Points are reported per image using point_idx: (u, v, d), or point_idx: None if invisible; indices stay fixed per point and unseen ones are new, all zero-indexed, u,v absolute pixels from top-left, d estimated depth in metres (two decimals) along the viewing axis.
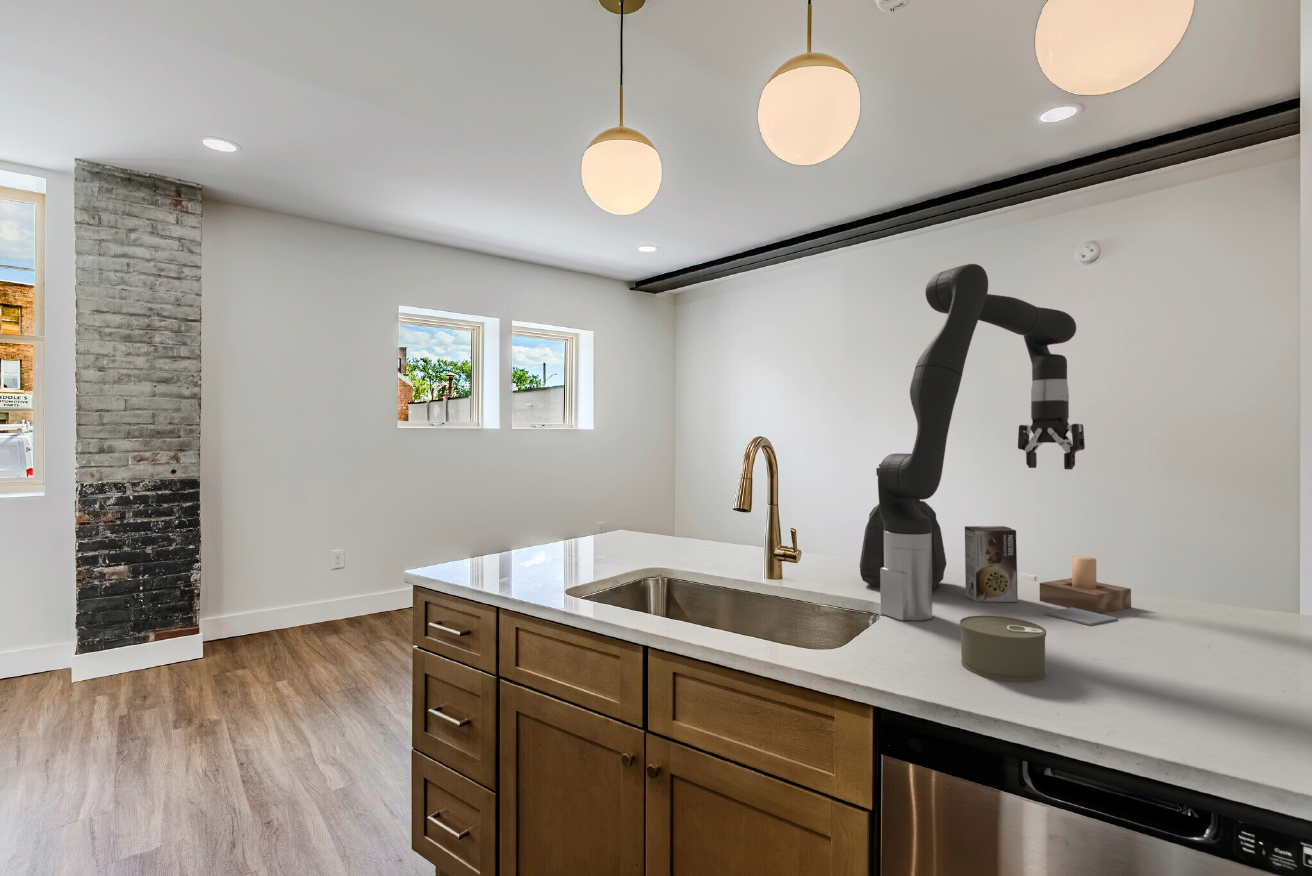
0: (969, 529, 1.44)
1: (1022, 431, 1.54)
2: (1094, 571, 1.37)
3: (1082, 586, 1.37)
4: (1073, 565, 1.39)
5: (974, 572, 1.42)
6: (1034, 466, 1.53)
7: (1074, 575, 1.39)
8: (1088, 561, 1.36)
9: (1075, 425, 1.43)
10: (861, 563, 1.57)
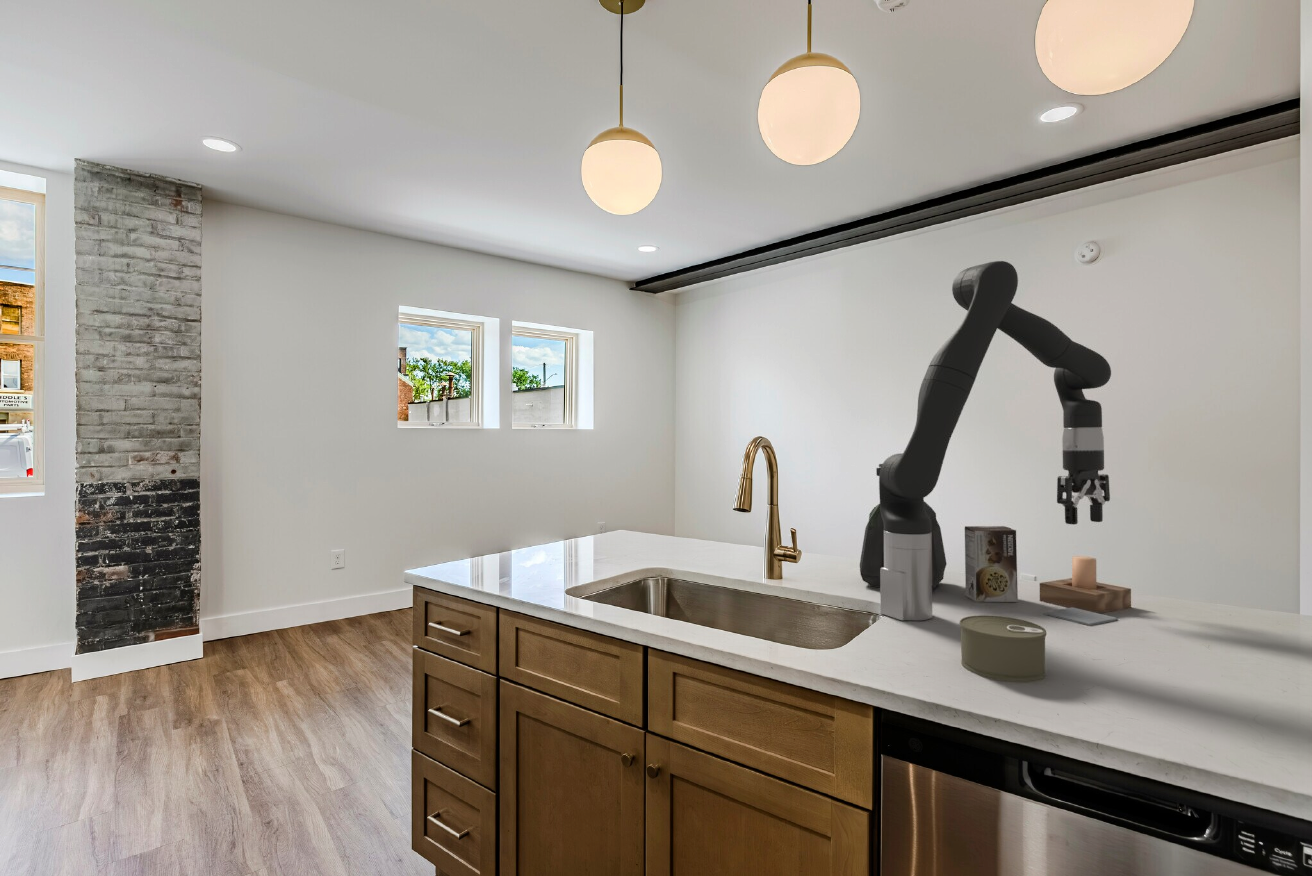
0: (969, 529, 1.44)
1: (1071, 483, 1.35)
2: (1094, 571, 1.37)
3: (1082, 586, 1.37)
4: (1073, 565, 1.39)
5: (974, 572, 1.42)
6: None
7: (1074, 575, 1.39)
8: (1088, 561, 1.36)
9: (1107, 476, 1.40)
10: (861, 563, 1.57)
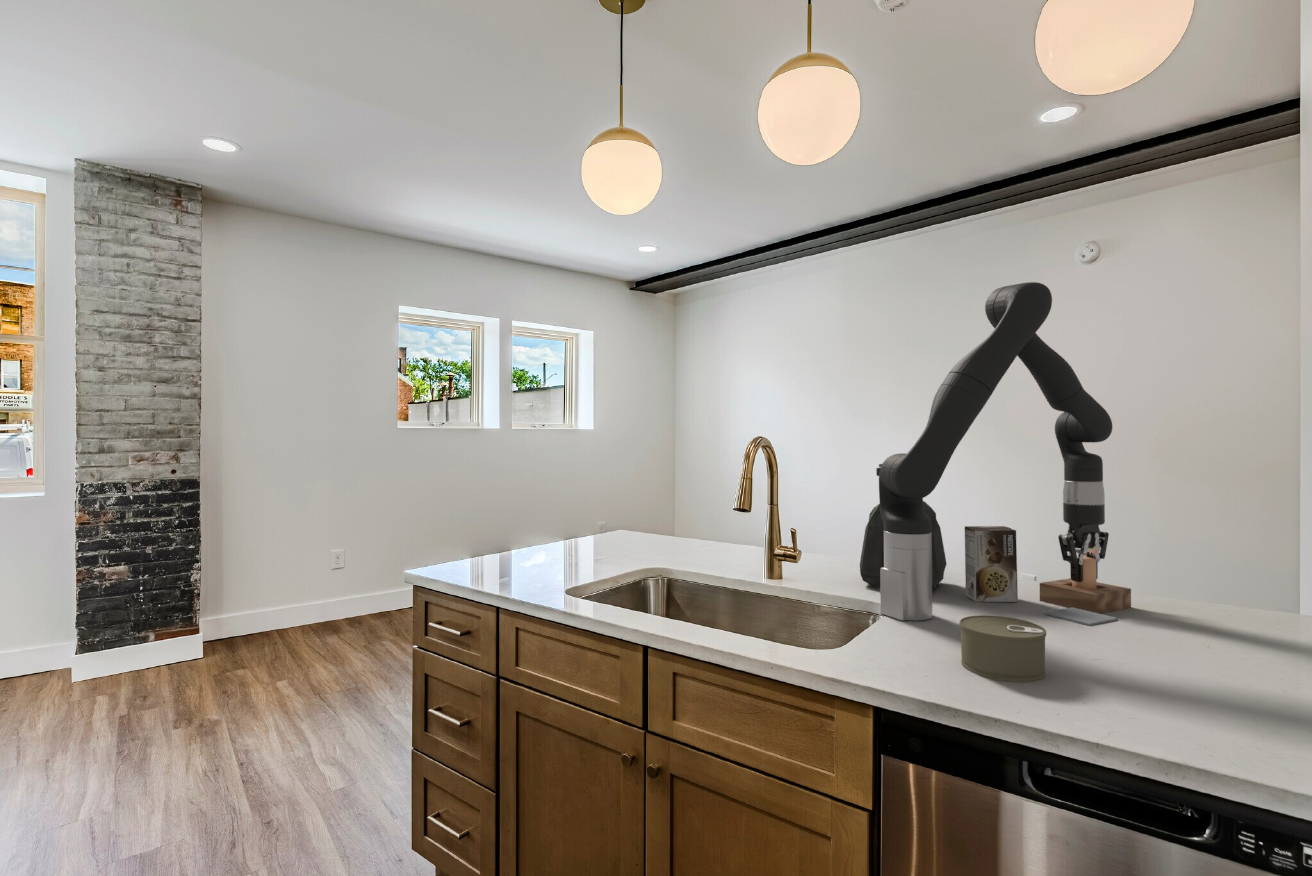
0: (969, 529, 1.44)
1: (1073, 542, 1.35)
2: (1094, 571, 1.37)
3: (1082, 586, 1.37)
4: None
5: (974, 572, 1.42)
6: None
7: None
8: (1088, 561, 1.36)
9: (1108, 534, 1.40)
10: (861, 563, 1.57)
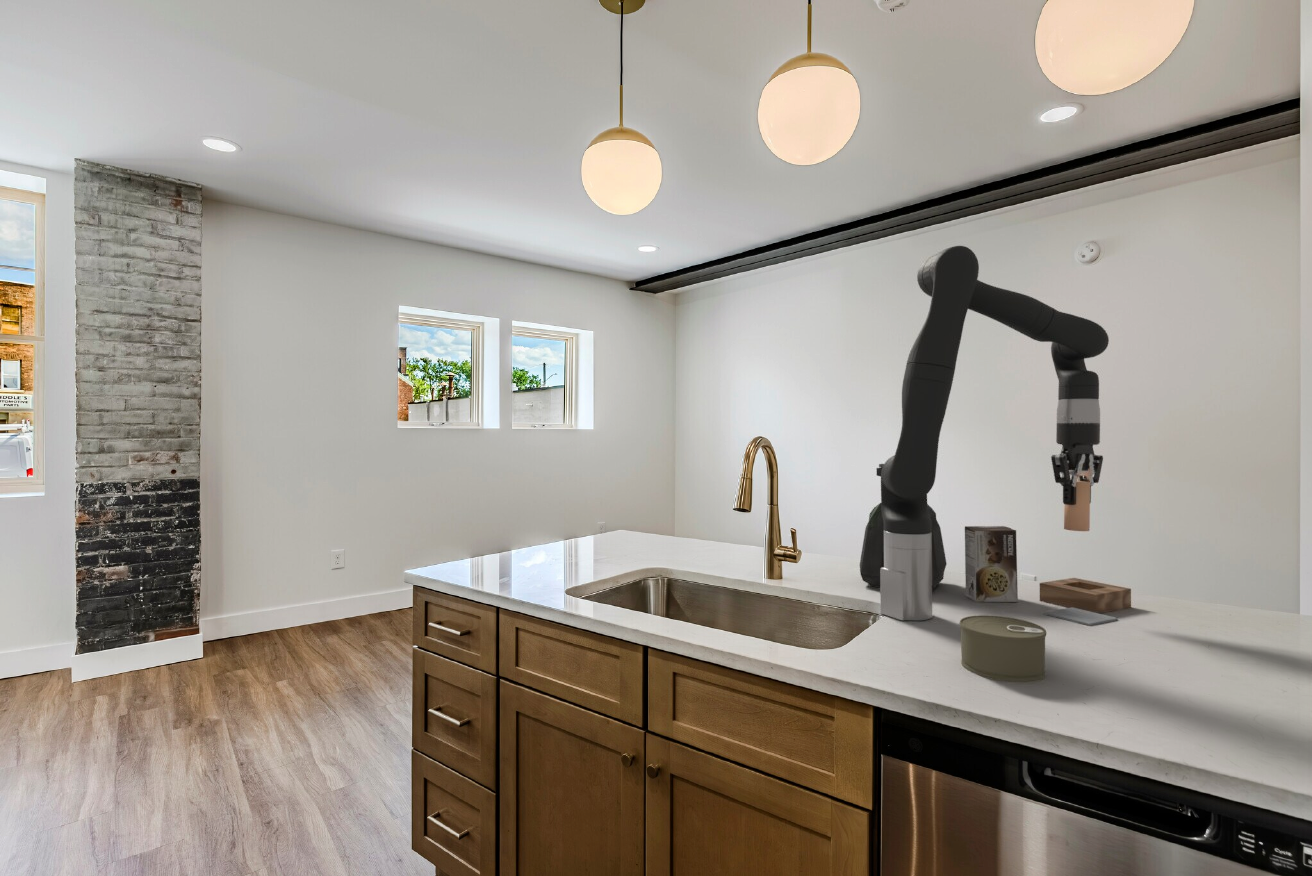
0: (969, 529, 1.44)
1: (1066, 462, 1.28)
2: (1088, 494, 1.30)
3: (1075, 510, 1.30)
4: None
5: (974, 572, 1.42)
6: None
7: None
8: (1082, 483, 1.29)
9: None
10: (861, 563, 1.57)
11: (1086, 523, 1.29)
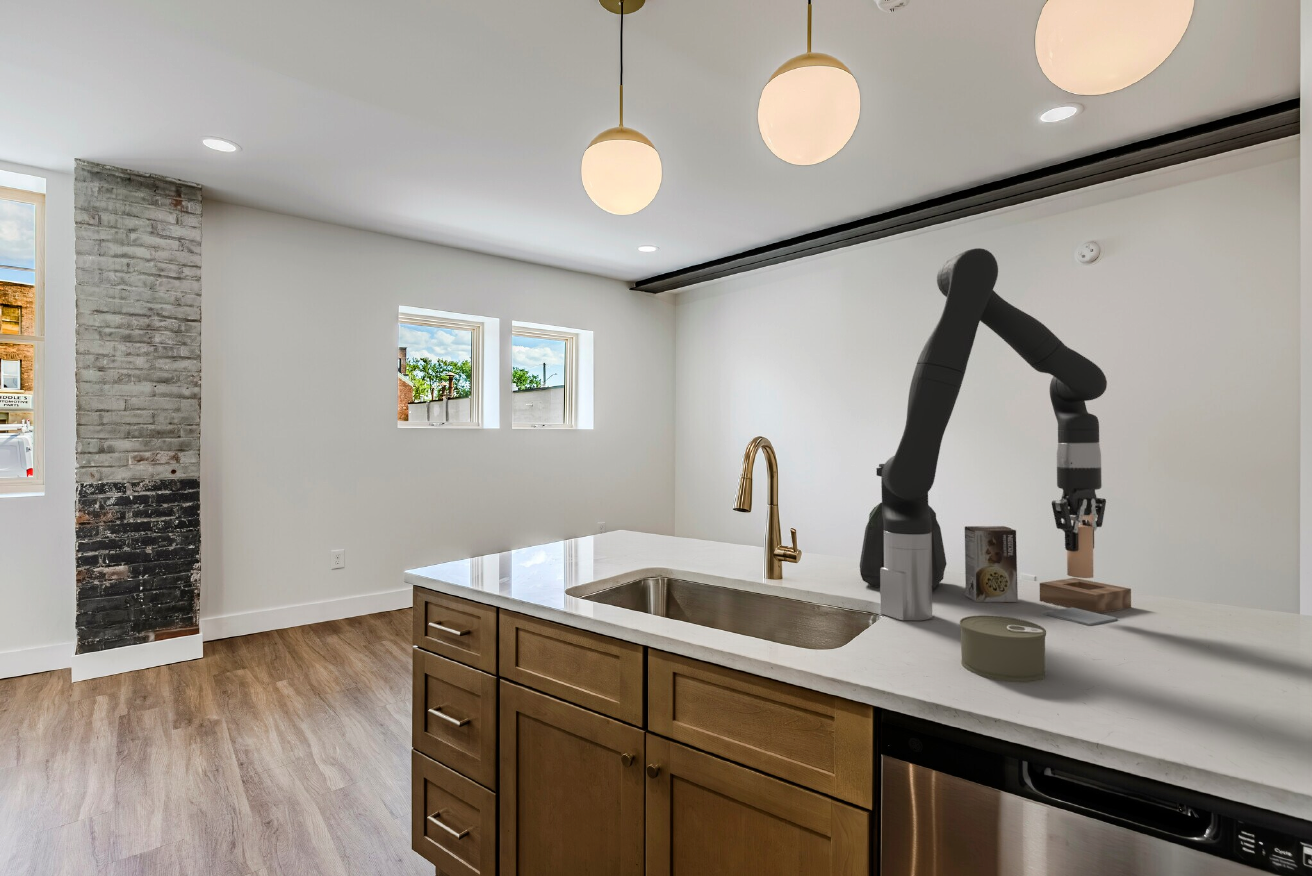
0: (969, 529, 1.44)
1: (1067, 508, 1.25)
2: (1090, 540, 1.27)
3: (1078, 556, 1.27)
4: None
5: (974, 572, 1.42)
6: None
7: None
8: (1084, 529, 1.26)
9: (1105, 501, 1.30)
10: (861, 563, 1.57)
11: (1090, 569, 1.26)
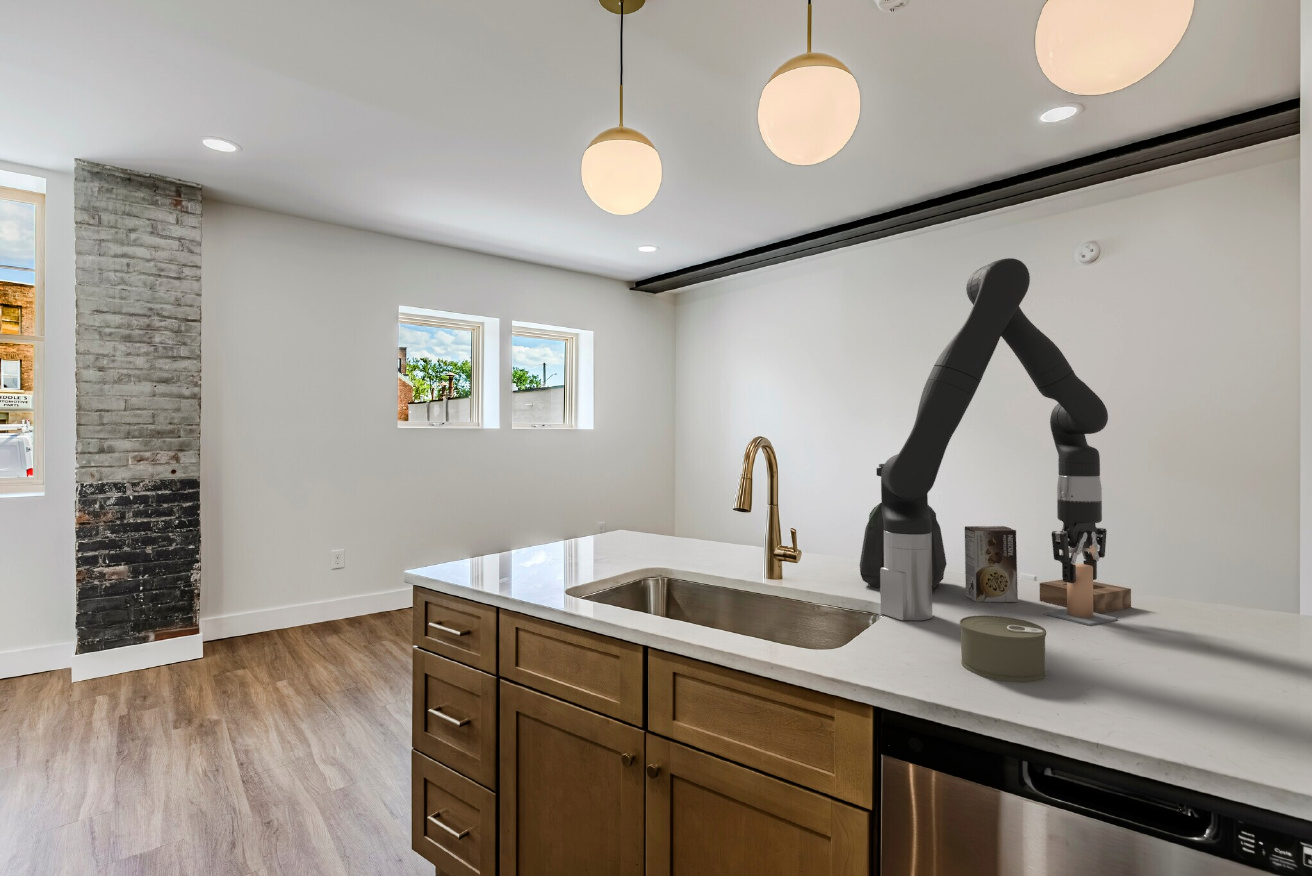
0: (969, 529, 1.44)
1: (1067, 539, 1.25)
2: (1090, 580, 1.27)
3: (1078, 596, 1.27)
4: None
5: (974, 572, 1.42)
6: None
7: (1069, 584, 1.28)
8: (1084, 569, 1.26)
9: (1105, 530, 1.30)
10: (861, 563, 1.57)
11: (1089, 609, 1.26)
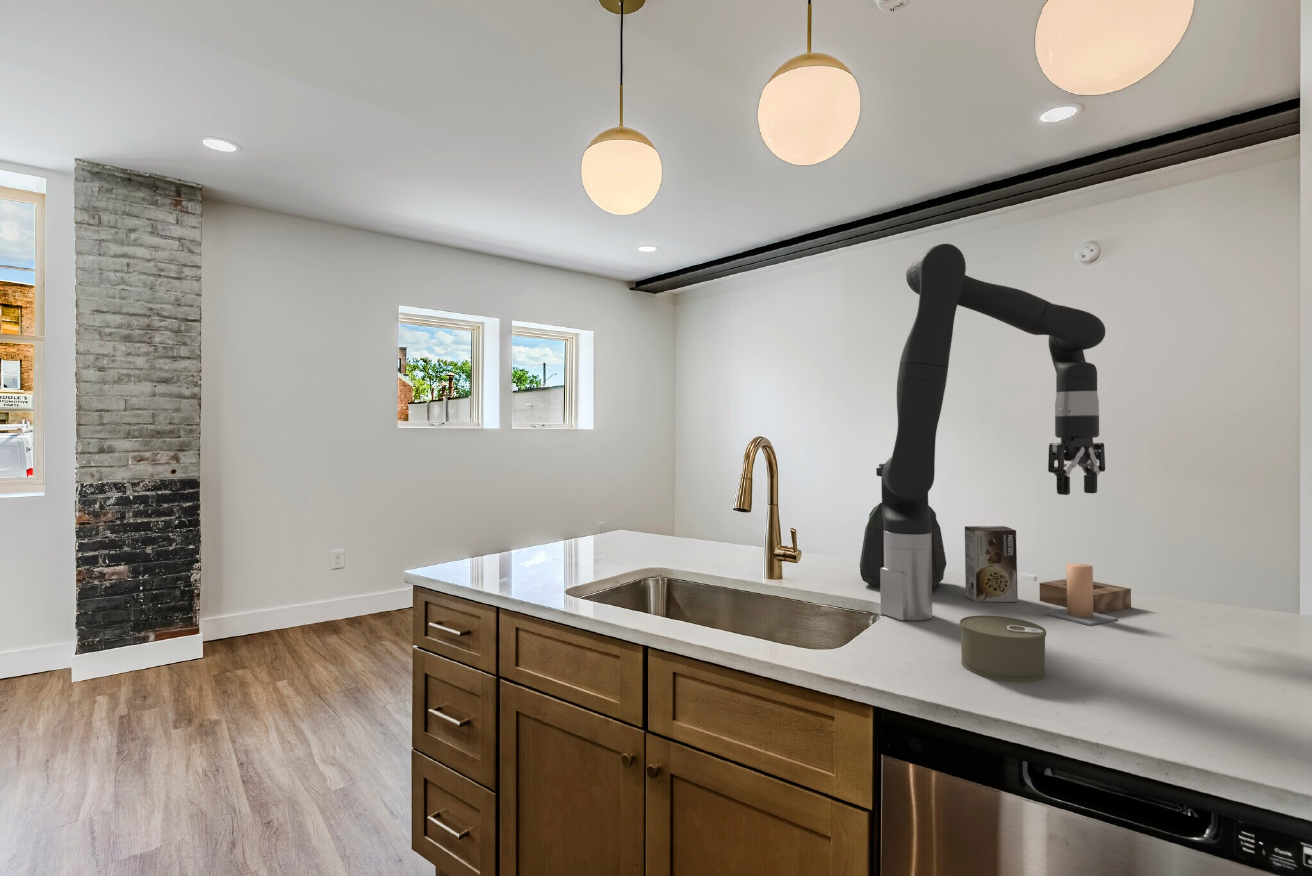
0: (969, 529, 1.44)
1: (1063, 451, 1.26)
2: (1090, 579, 1.27)
3: (1078, 596, 1.27)
4: (1068, 573, 1.29)
5: (974, 572, 1.42)
6: None
7: (1069, 584, 1.29)
8: (1084, 569, 1.26)
9: (1103, 444, 1.31)
10: (861, 563, 1.57)
11: (1089, 609, 1.26)
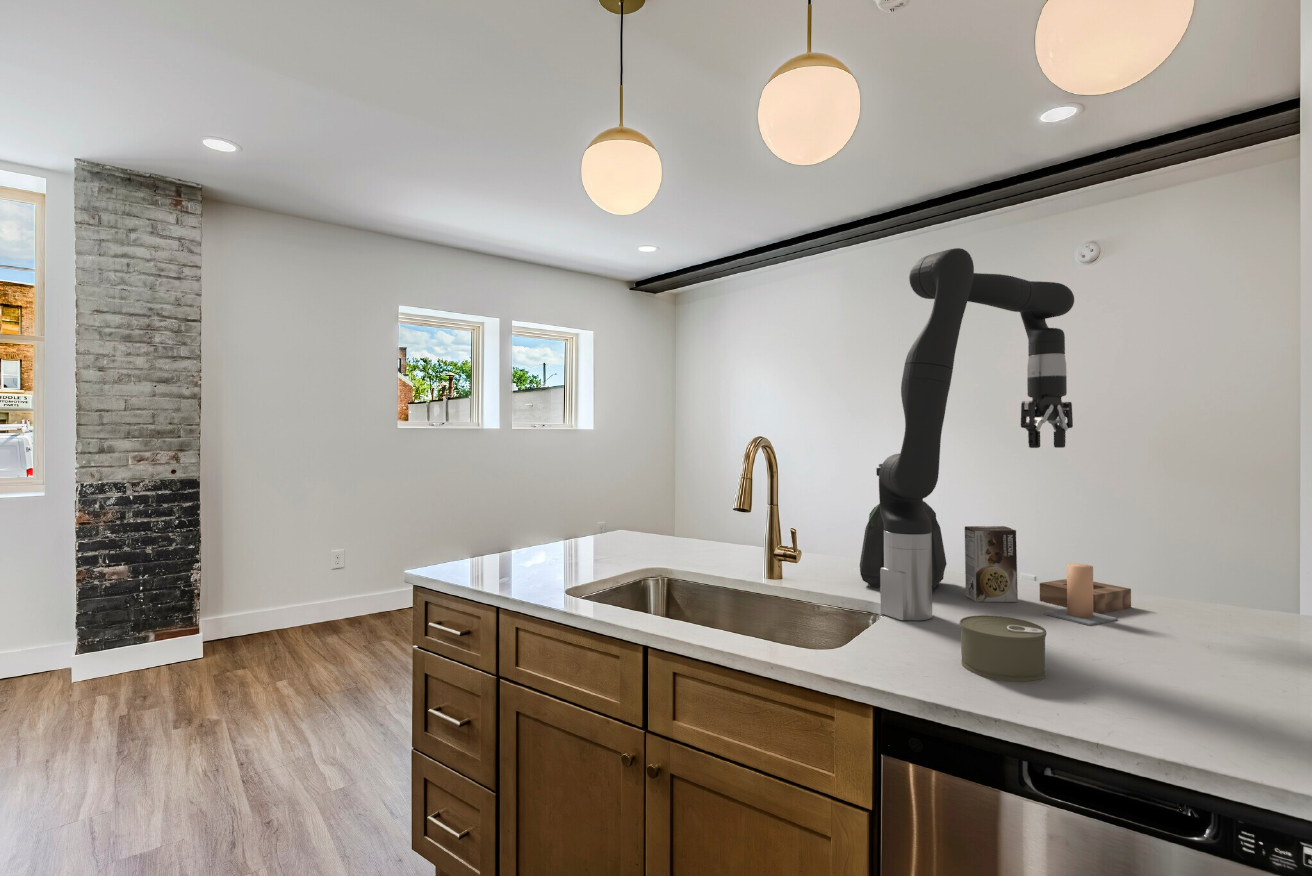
0: (969, 529, 1.44)
1: (1034, 407, 1.39)
2: (1091, 580, 1.27)
3: (1078, 596, 1.27)
4: (1068, 573, 1.29)
5: (974, 572, 1.42)
6: None
7: (1069, 584, 1.29)
8: (1084, 569, 1.26)
9: (1070, 403, 1.45)
10: (861, 563, 1.57)
11: (1089, 609, 1.26)
